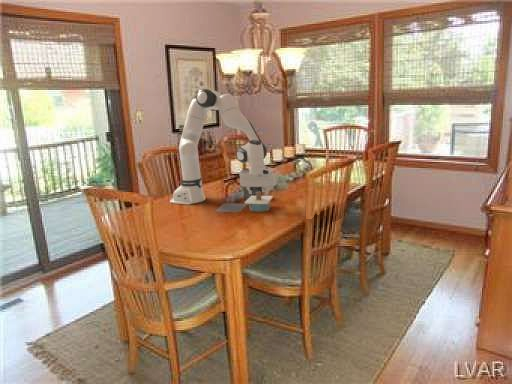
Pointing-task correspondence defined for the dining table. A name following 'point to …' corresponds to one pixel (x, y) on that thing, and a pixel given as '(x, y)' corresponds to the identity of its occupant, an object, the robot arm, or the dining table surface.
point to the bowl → (259, 207)
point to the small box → (253, 189)
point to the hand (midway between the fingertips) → (258, 194)
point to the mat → (231, 207)
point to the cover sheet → (263, 201)
